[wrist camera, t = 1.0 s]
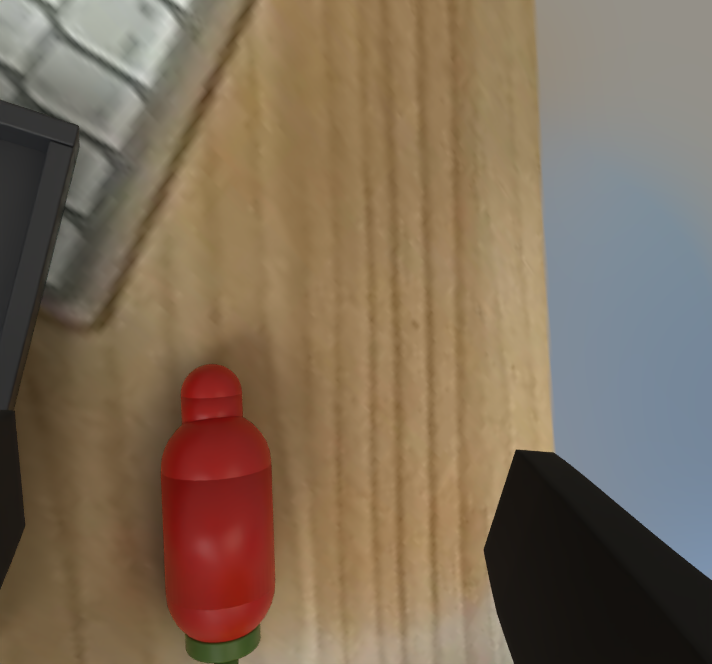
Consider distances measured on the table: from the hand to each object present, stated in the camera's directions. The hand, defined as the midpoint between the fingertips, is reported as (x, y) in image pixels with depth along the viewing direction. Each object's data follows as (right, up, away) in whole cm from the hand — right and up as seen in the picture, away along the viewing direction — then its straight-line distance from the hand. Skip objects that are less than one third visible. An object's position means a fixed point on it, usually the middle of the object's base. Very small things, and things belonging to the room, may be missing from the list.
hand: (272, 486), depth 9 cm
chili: (-4, -4, +11) cm, 12 cm away
